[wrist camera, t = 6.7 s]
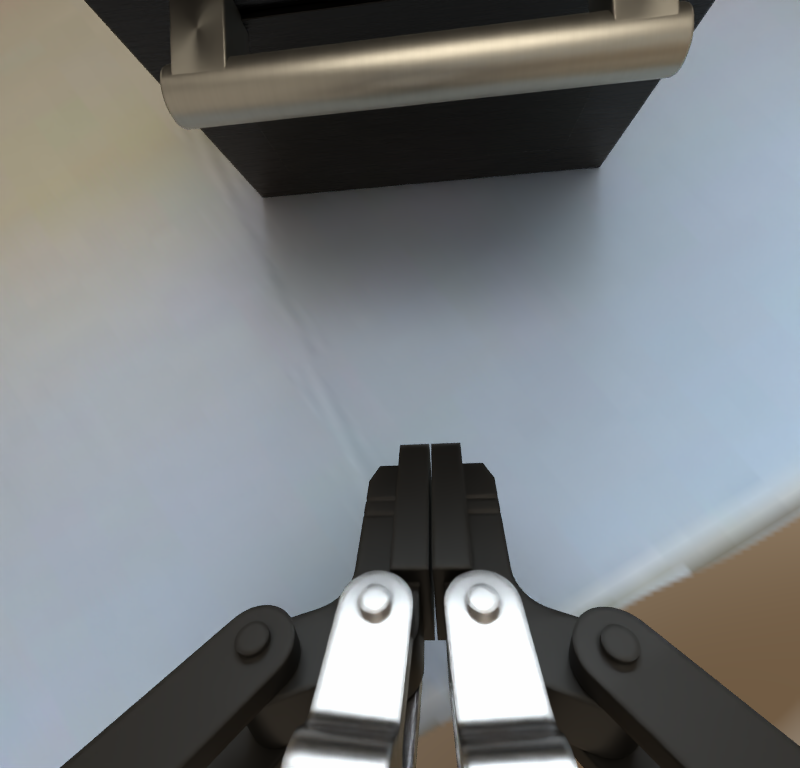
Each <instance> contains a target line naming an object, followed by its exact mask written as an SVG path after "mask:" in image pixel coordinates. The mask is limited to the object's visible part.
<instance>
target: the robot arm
mask: <svg viewBox="0 0 800 768" xmlns="http://www.w3.org/2000/svg"><path fill="white" fill-rule="evenodd" d="M431 460H432V477H431V462H430V448H429V444H414V445H400V452H399V464H398V466H380V467H379V468H378V470H377V471H376V473H375V474H374V475H373V477H372V478H371V480H370V481H369V487H368V493H367V502H366V505H365V511H364V517H363V524H362V530H361V536H360V542H359V548H358V554H357V561H356V567H355V572H354V576H353V578H352V581H351V582H350V583H349V584H348V585H347V586H346V587H345V589H344V590H343V592H342V594H341V595H340V596H339V597H338V598H337V599H336V600H334V601H333V602H332V603H330V604H328V605H326V606H324V607H321V608H319V609H316V610H313V611H310V612H307V613H304V614H301V615H298V616H295V617H292V618H291V617H290V616H289V615H288V613H287V612H285V611H284V610H283V609H281V608H279V607H276V606H272V605H262V606H257V607H253V608H250V609H248V610H246V611H244V612H242V613H241V614H239V615H238V616H236V617H235V618H234V619H233V620H231V621H230V622H229V623H228V624H227V625H226V626H225V627H223V628H222V629H221V630H220V631H219V632H218V633H216V634H215V635H214V636H213V637H212V638H211V639H209V640H208V641H207V642H206V643H205V644H204V645H202V646H201V647H200V648H199V649H198V650H197V651H195V652H194V653H193V654H192V655H191V656H190V657H188V658H187V659H186V660H185V661H184V662H183V663H181V664H180V665H179V666H178V667H177V668H176V669H174V670H173V671H172V672H171V673H170V674H169V675H167V676H166V677H165V678H164V679H163V680H162V681H160V682H159V683H158V684H157V685H156V686H155V687H153V688H152V689H151V690H150V691H149V692H148V693H146V694H145V695H144V696H143V697H142V698H141V699H139V700H138V701H137V702H136V703H135V704H134V705H133V706H131V707H130V708H129V709H128V710H127V711H126V712H124V713H123V714H122V715H121V716H120V717H119V718H117V719H116V720H115V721H114V722H113V723H112V724H110V725H109V726H108V727H107V728H106V729H105V730H103V731H102V732H101V733H100V734H99V735H98V736H96V737H95V738H94V739H93V740H92V741H91V742H89V743H88V744H87V745H86V746H85V747H84V748H82V749H81V750H80V751H79V752H78V753H77V754H75V755H74V756H73V757H72V758H71V759H70V760H68V761H67V762H66V763H65V764H64V765H63V766H61V767H60V768H416V757H417V745H418V732H419V720H420V707H421V694H422V678H423V674H424V640H435V621H434V595H435V608H436V621H437V634H438V640H446V645H447V662H448V678H449V690H450V700H451V710H452V719H453V729H454V738H455V748H456V757H457V767H458V768H578V766H577V763H576V760H575V758H576V759H577V761H578V762H579V763H580V764H581V765H582V766H583V767H584V768H800V746H799V745H797V744H796V743H795V742H794V741H792V740H791V739H790V738H788V737H787V736H786V735H785V734H784V733H782V732H781V731H780V730H778V729H777V728H776V727H775V726H773V725H772V724H771V723H769V722H768V721H767V720H766V719H765V718H763V717H762V716H761V715H760V714H758V713H757V712H756V711H754V710H753V709H752V708H751V707H749V706H748V705H747V704H746V703H745V702H743V701H742V700H741V699H739V698H738V697H737V696H736V695H734V694H733V693H732V692H731V691H729V690H728V689H727V688H726V687H724V686H723V685H721V683H719V682H718V681H717V680H715V679H714V678H713V677H712V676H710V675H709V674H708V673H707V672H705V671H704V670H703V669H702V668H700V667H699V666H698V665H697V664H695V663H694V662H693V661H692V660H690V659H689V658H688V657H687V656H685V655H684V654H683V653H682V652H680V651H679V650H678V649H677V648H675V647H674V646H673V645H671V644H670V643H669V642H668V641H667V640H665V639H664V638H663V637H662V636H660V635H659V634H658V633H656V632H655V631H654V630H653V629H651V628H650V627H649V626H648V625H646V624H645V623H644V622H642V621H641V620H640V619H638V618H637V617H635V616H633V615H632V614H630V613H628V612H625V611H623V610H620V609H616V608H612V607H597V608H592V609H590V610H588V611H586V612H584V613H583V614H582V615H581V616H580V617H576V616H573V615H570V614H566V613H563V612H560V611H557V610H554V609H551V608H548V607H545V606H543V605H541V604H539V603H537V602H536V601H534V600H533V599H531V598H530V597H529V596H528V595H526V594H525V593H524V592H523V591H522V589H521V588H520V587H519V586H518V584H517V583H516V581H515V579H514V577H513V575H512V571H511V567H510V561H509V556H508V550H507V545H506V539H505V534H504V528H503V523H502V517H501V513H500V506H499V501H498V497H497V490H496V484H495V479H494V477H493V475H492V474H491V473H490V472H489V470H488V469H487V468H486V466H485V465H484V464H483V463H466V464H462V455H461V445H460V443H440V444H431Z"/></svg>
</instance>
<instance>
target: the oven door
mask: <svg viewBox="0 0 800 768" xmlns="http://www.w3.org/2000/svg"><path fill="white" fill-rule="evenodd" d="M84 1H85V2H86V3H87V4H88V5H89V6H90V7H91V8H92V10H93V11H94V12H95V13H96V14H97V15H98V16H99V17H100V18H101V19H102V21H103V22H104V23H105V24H106V25H107V26H108V27H109V28H110V29H111V31H112V32H113V33H114V34H115V35H116V36H117V37H118V38H119V39H120V40H121V42H122V43H123V44H124V45H125V46H126V47H127V48H128V49H129V50H130V52H131V53H132V54H133V55H134V56H135V57H136V58H137V59H138V60H139V62H140V63H141V64H142V65H143V66H144V67H145V68H146V69H147V70H148V71H149V73H150V74H151V75H152V76H153V77H154V78H155V79H156V80H157V81H158V83H159V84H160V85H161V90H162V94H163V98H164V101H165V103H166V106H167V108H168V110H169V112H170V114H171V116H172V117H173V119H174V120H175V122H176V123H177V124H178V125H179V126H180V127H182V128H184V129H197V128H200V129H201V130H202V131H203V132H204V133H205V134H206V136H207V137H208V138H209V139H210V140H211V141H212V142H213V143H214V144H215V146H216V147H217V148H218V149H219V150H220V151H221V152H222V153H223V154H224V155H225V157H226V158H227V159H228V160H229V161H230V162H231V163H232V164H233V165H234V167H235V168H236V169H237V170H238V171H239V172H240V173H241V174H242V175H243V176H244V178H245V179H246V180H247V181H248V182H249V183H250V184H251V185H252V186H253V188H254V189H255V190H256V191H257V192H258V193H259V194H260V195H261V196H262V197H275V196H286V195H297V194H308V193H319V192H330V191H341V190H352V189H363V188H374V187H385V186H396V185H406V184H417V183H428V182H439V181H450V180H461V179H472V178H483V177H494V176H505V175H516V174H527V173H538V172H549V171H560V170H571V169H582V168H593V167H600V166H601V165H602V163H603V162H604V160H605V159H606V157H607V156H608V155H609V153H610V152H611V150H612V149H613V147H614V146H615V144H616V143H617V141H618V140H619V139H620V137H621V136H622V134H623V133H624V131H625V130H626V128H627V127H628V126H629V124H630V123H631V121H632V120H633V118H634V117H635V115H636V114H637V113H638V111H639V110H640V108H641V107H642V105H643V104H644V102H645V101H646V100H647V98H648V97H649V95H650V94H651V92H652V91H653V89H654V88H655V87H656V85H657V84H658V82H659V81H660V79H662V78H669V77H671V76H673V75H675V74H676V73H677V72H678V71H679V69H680V68H681V66H682V65H683V63H684V61H685V59H686V56H687V54H688V51H689V48H690V45H691V41H692V36H693V32H694V30H695V29H696V27H697V26H698V24H699V23H700V21H701V20H702V19H703V17H704V16H705V14H706V13H707V11H708V10H709V8H710V7H711V6H712V4H713V3H714V1H715V0H84Z"/></svg>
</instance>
